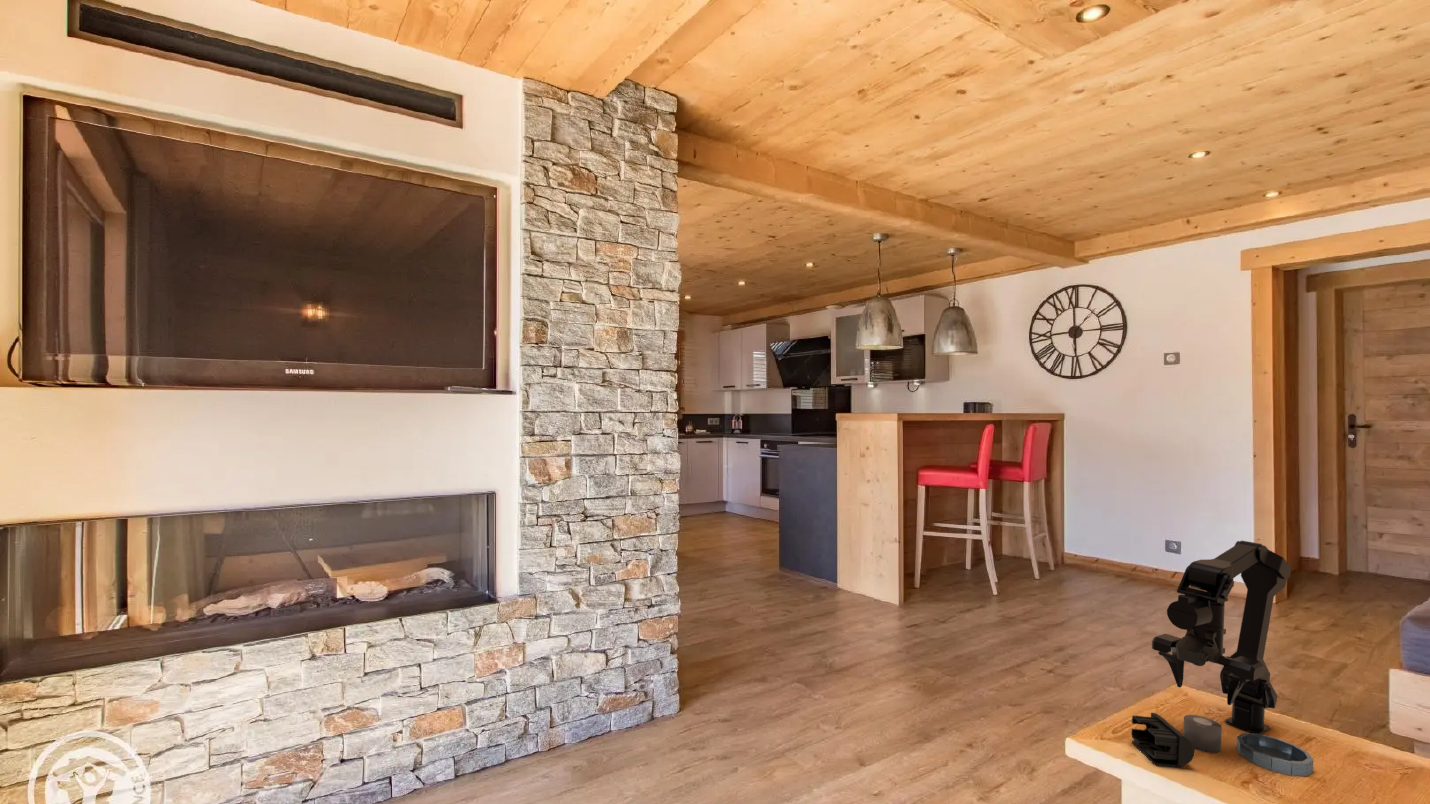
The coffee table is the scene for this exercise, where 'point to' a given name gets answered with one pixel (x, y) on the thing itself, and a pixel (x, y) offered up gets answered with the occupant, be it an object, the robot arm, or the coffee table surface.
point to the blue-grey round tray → (1274, 754)
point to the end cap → (1161, 742)
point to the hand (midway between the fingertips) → (1203, 695)
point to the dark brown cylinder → (1203, 733)
